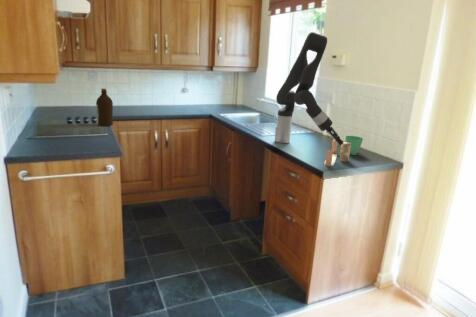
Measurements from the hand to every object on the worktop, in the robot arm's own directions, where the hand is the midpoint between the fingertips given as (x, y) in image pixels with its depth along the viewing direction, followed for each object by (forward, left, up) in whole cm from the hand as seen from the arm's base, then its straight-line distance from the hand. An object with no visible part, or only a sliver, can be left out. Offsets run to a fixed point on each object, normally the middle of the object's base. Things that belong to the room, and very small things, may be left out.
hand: (339, 142), depth 199 cm
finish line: (-3, 0, -10) cm, 11 cm away
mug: (+7, +21, -10) cm, 24 cm away
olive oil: (-158, 0, -10) cm, 159 cm away
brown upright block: (+3, +1, -10) cm, 11 cm away
